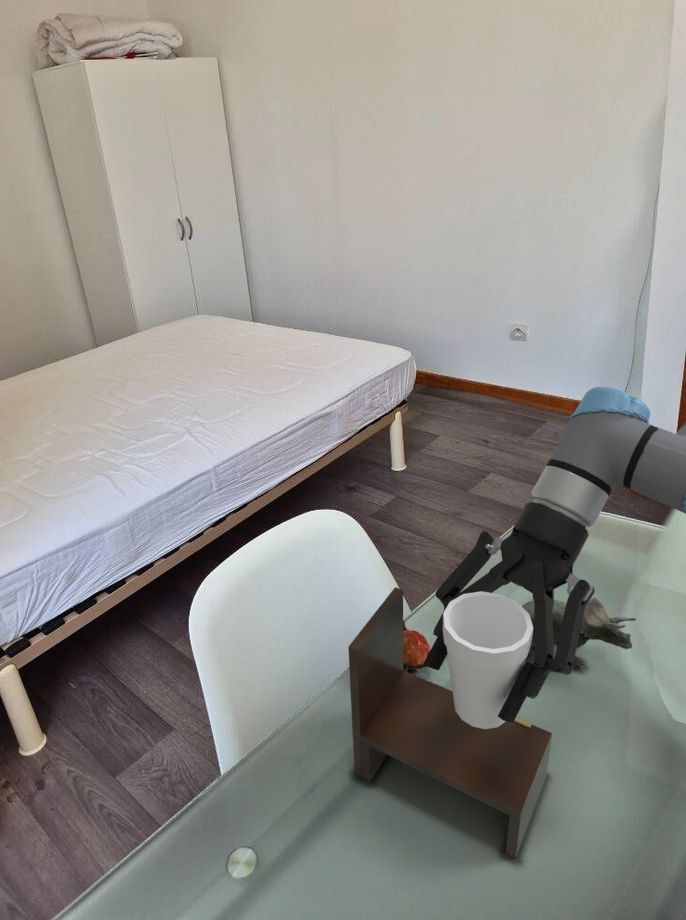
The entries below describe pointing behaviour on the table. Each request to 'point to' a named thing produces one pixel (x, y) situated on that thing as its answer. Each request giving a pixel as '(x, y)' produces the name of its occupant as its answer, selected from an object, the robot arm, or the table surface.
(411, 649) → the pomegranate
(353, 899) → the table surface
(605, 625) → the toy dinosaur
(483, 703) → the foam cup
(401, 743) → the shelf
